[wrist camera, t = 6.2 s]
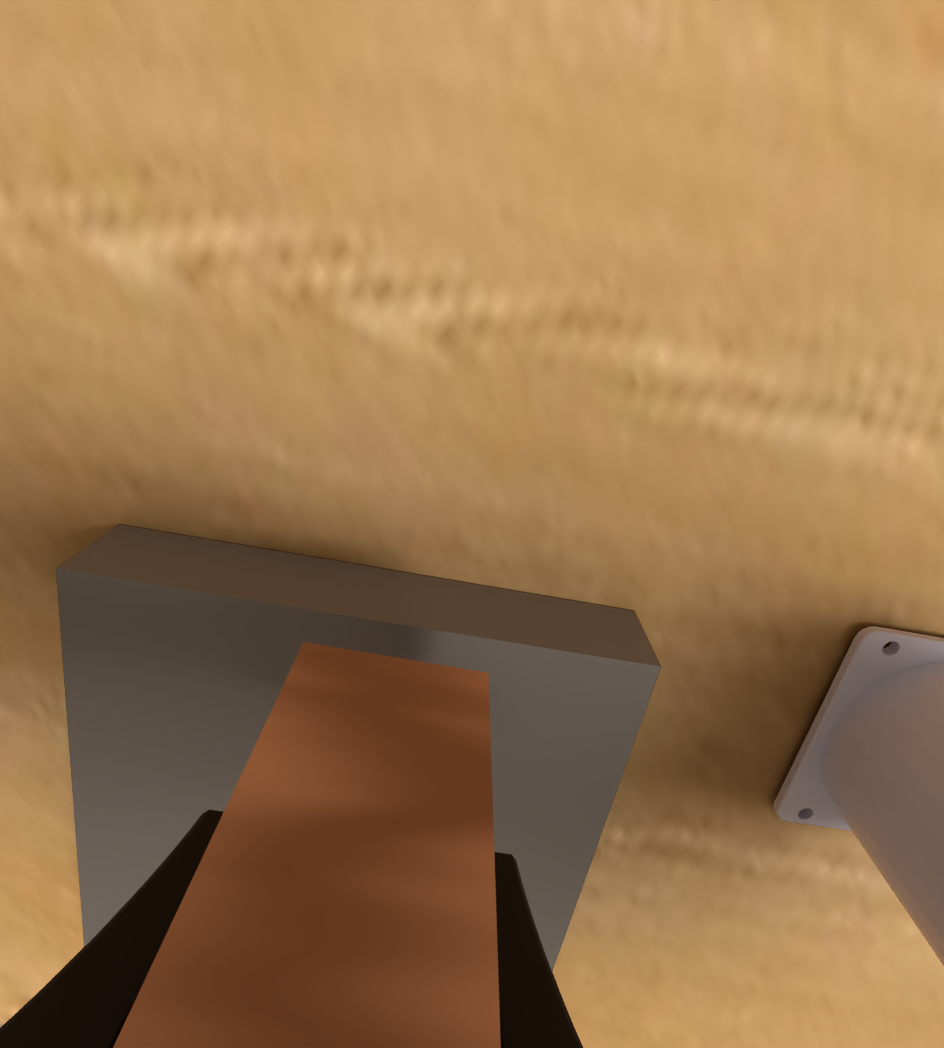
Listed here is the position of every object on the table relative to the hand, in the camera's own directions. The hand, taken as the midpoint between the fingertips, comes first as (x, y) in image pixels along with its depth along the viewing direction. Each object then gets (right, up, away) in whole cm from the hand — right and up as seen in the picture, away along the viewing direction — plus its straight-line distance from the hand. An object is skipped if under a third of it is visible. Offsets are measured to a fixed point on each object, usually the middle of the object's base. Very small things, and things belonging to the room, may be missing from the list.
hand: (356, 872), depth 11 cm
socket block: (-2, -3, +11) cm, 12 cm away
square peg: (0, +1, +3) cm, 4 cm away
